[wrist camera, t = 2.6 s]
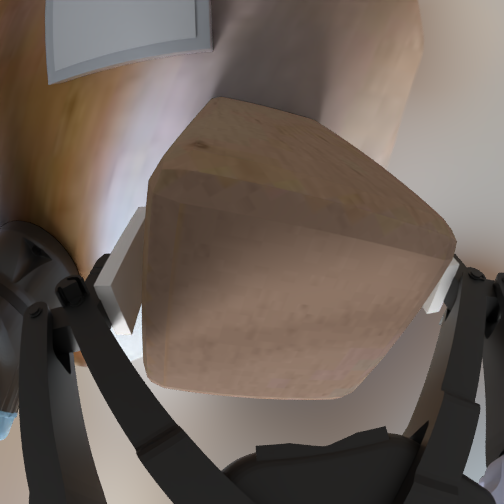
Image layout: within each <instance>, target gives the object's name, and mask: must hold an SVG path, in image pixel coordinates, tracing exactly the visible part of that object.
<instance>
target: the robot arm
mask: <svg viewBox="0 0 504 504" xmlns="http://www.w3.org/2000/svg"><path fill="white" fill-rule="evenodd" d="M145 214H146V207H138V209H137V211H136V212H135V214H134V215H133V217H132V219H131V220H130V222H129V224H128V225H127V227H126V228H125V230H124V232H123V234H122V235H121V237H120V239H119V240H118V242H117V244H116V245H115V247H114V249H113V251H112V252H111V254H104V255H103V256H101V257H100V258H99V259H98V260H97V261H96V263H95V265H94V267H93V269H92V270H91V272H90V274H89V275H88V277H87V279H86V281H84V279H83V278H82V277H81V276H80V275H79V274H78V271H77V269H76V266H75V264H74V262H73V261H72V259H71V257H70V256H69V254H68V253H67V251H66V250H65V249H64V248H63V246H62V245H61V244H60V243H59V242H58V241H57V240H56V239H55V238H54V237H53V236H51V235H50V234H49V233H48V232H46V231H45V230H43V229H42V228H40V227H38V226H36V225H34V224H31V223H28V222H24V221H12V222H8V223H6V224H4V225H3V226H2V227H1V228H0V440H3V439H5V438H6V437H7V435H8V433H9V431H10V428H11V425H12V423H13V420H14V418H16V417H17V412H18V409H19V414H20V415H19V416H20V431H21V441H22V450H23V457H24V464H25V471H26V477H27V482H28V487H29V492H30V494H29V504H107V502H106V499H105V496H104V492H103V489H102V486H101V483H100V480H99V477H98V474H97V470H96V467H95V464H94V460H93V457H92V453H91V450H90V445H89V441H88V437H87V433H86V429H85V425H84V420H83V415H82V409H81V404H80V398H79V393H78V386H77V379H76V372H75V364H74V355H73V352H76V351H81V353H82V355H83V357H84V359H85V361H86V364H87V366H88V368H89V370H90V372H91V374H92V376H93V378H94V380H95V382H96V383H97V386H98V387H99V389H100V391H101V393H102V395H103V397H104V399H105V400H106V402H107V404H108V406H109V407H110V409H111V411H112V413H113V414H114V416H115V418H116V419H117V421H118V423H119V424H120V426H121V428H122V429H123V431H124V432H125V434H126V435H127V437H128V438H129V440H130V442H131V443H132V445H133V446H134V448H135V449H136V454H137V456H138V458H139V459H140V461H141V462H142V464H143V465H144V466H145V468H146V469H147V470H148V472H149V473H150V475H151V476H152V477H153V479H154V480H155V481H156V483H158V485H159V486H160V488H161V489H162V490H163V491H164V492H165V494H166V495H167V496H168V497H169V499H170V500H171V501H172V502H173V503H174V504H504V273H498V275H497V277H496V279H495V281H493V280H487V279H486V277H485V276H484V274H483V273H482V272H480V271H479V270H477V269H475V268H471V267H468V268H467V267H466V266H465V265H464V264H463V263H462V261H461V260H460V259H459V258H458V257H457V256H456V254H454V256H453V259H452V261H451V263H450V264H449V266H448V268H447V269H446V271H445V273H444V274H443V276H442V277H441V279H440V281H439V282H438V284H437V285H436V287H435V288H434V290H433V291H432V293H431V294H430V296H429V297H428V299H427V300H426V302H425V303H424V305H423V306H422V307H423V308H424V310H425V312H426V313H427V314H428V313H434V312H439V310H440V308H441V306H442V304H443V302H444V303H445V304H446V306H447V309H446V311H445V313H444V315H443V317H442V319H441V321H440V323H439V325H441V324H442V325H441V329H440V333H439V338H438V341H437V345H436V348H435V352H434V356H433V359H432V362H431V365H430V368H429V371H428V374H427V377H426V380H425V383H424V387H423V389H422V392H421V395H420V397H419V400H418V403H417V405H416V408H415V410H414V413H413V415H412V418H411V420H410V422H409V425H408V427H407V429H406V430H405V432H404V433H403V435H398V434H391V433H387V430H386V427H385V426H384V427H380V428H376V429H372V430H367V431H363V432H358V433H355V434H353V435H351V436H349V437H347V438H344V439H342V440H340V441H338V442H335V443H333V444H331V445H328V446H311V445H301V444H291V443H287V444H276V445H263V446H256V453H252V454H249V455H246V456H244V457H242V458H239V459H237V460H236V461H234V462H232V463H231V464H229V465H228V466H227V467H225V468H224V469H223V470H222V471H220V470H219V469H218V468H217V467H216V466H215V465H214V463H213V462H212V461H211V460H210V459H209V458H208V457H207V456H206V455H205V454H204V453H203V452H202V451H201V450H200V448H199V447H198V446H197V445H196V444H195V443H194V442H193V441H192V440H191V439H190V437H189V436H188V435H187V434H186V433H185V432H184V430H183V429H182V428H181V427H180V426H178V425H177V424H176V423H175V421H174V420H173V419H172V418H171V416H170V415H169V414H168V413H167V411H166V410H165V409H164V408H163V406H162V405H161V404H160V402H159V401H158V400H157V399H156V397H155V396H154V395H153V393H152V392H151V390H150V389H149V388H148V387H147V385H146V384H145V382H144V381H143V379H142V378H141V377H140V375H139V374H138V372H137V371H136V369H135V368H134V366H133V365H132V363H131V362H130V360H129V359H128V357H127V356H126V354H125V353H124V351H123V350H122V348H121V346H120V345H119V343H118V342H117V340H116V338H115V337H114V335H113V334H112V332H111V330H110V329H111V326H112V328H113V330H114V332H115V334H116V335H132V333H133V329H134V326H135V323H136V319H137V316H138V313H139V310H140V307H141V303H142V267H143V244H144V227H145ZM482 358H483V368H484V380H485V396H486V467H487V469H486V472H485V475H484V476H482V477H481V479H480V480H479V484H478V483H476V482H474V481H473V480H471V479H470V478H468V477H467V476H465V475H464V474H463V471H464V468H465V465H466V462H467V459H468V456H469V453H470V449H471V446H472V443H473V439H474V435H475V431H476V427H477V423H478V419H479V414H480V405H479V404H477V403H475V398H476V392H477V387H478V382H479V376H480V369H481V362H482Z"/></svg>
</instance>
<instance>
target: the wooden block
mask: <svg viewBox="0 0 504 504" xmlns="http://www.w3.org/2000/svg"><path fill="white" fill-rule="evenodd" d="M456 243H457V241H456V239H455V236H454V234H453V232H452V230H451V228H450V227H449V226H448V224H447V223H446V221H445V220H444V219H443V218H442V217H441V216H440V215H439V214H438V213H437V212H436V211H434V210H433V209H432V208H431V207H430V206H429V205H428V204H427V203H426V202H424V201H423V200H422V199H421V198H420V197H419V196H418V195H416V194H415V193H414V192H413V191H412V190H410V189H409V188H408V187H407V186H406V185H404V184H403V183H402V182H401V181H399V180H398V179H397V178H396V177H394V176H393V175H392V174H391V173H389V172H388V171H387V170H385V169H384V168H383V167H382V166H380V165H379V164H378V163H376V162H375V161H374V160H372V159H371V158H370V157H368V156H367V155H365V154H364V153H363V152H361V151H360V150H358V149H357V148H356V147H354V146H353V145H351V144H350V143H349V142H347V141H346V140H344V139H343V138H341V137H340V136H338V135H337V134H335V133H334V132H332V131H331V130H329V129H328V128H326V127H324V126H323V125H321V124H320V123H318V122H317V121H315V120H313V119H309V118H306V117H303V116H299V115H296V114H292V113H289V112H285V111H281V110H278V109H274V108H270V107H266V106H262V105H257V104H253V103H249V102H244V101H240V100H235V99H230V98H225V97H217V98H212V99H211V100H210V101H209V102H208V103H207V104H206V106H205V107H204V108H203V109H202V110H201V111H200V112H199V113H198V115H197V116H196V117H195V118H194V119H193V120H192V122H191V123H190V124H189V125H188V126H187V127H186V129H185V130H184V131H183V132H182V133H181V135H180V136H179V137H178V138H177V139H176V141H175V142H174V143H173V144H172V146H171V147H170V148H169V149H168V151H167V152H166V153H165V154H164V156H163V157H162V159H161V160H160V162H159V164H158V165H157V167H156V169H155V170H154V172H153V174H152V176H151V177H150V179H149V182H148V192H147V202H146V214H145V227H144V244H143V267H142V341H143V362H144V366H145V370H146V373H147V377H148V378H149V379H150V380H151V382H153V383H155V384H157V385H159V386H161V387H163V388H168V389H174V390H181V391H188V392H195V393H203V394H213V395H222V396H233V397H245V398H263V399H292V400H293V399H294V400H296V399H298V400H315V399H316V400H319V399H336V398H340V397H343V396H345V395H347V394H349V393H351V392H353V391H354V390H355V388H356V387H358V385H359V384H360V383H361V382H362V381H363V380H364V379H365V378H366V377H367V375H368V374H369V373H370V372H371V371H372V370H373V369H374V367H375V366H376V365H377V364H378V363H379V362H380V360H381V359H382V358H383V357H384V356H385V355H386V353H387V352H388V351H389V350H390V348H391V347H392V346H393V345H394V343H395V342H396V341H397V340H398V338H399V337H400V335H401V334H402V333H403V332H404V331H405V329H406V328H407V327H408V325H409V324H410V323H411V321H412V320H413V318H414V317H415V316H416V314H417V313H418V311H419V310H420V309H421V307H422V306H423V305H424V303H425V302H426V300H427V299H428V297H429V296H430V294H431V293H432V291H433V290H434V288H435V287H436V285H437V284H438V282H439V281H440V279H441V277H442V276H443V274H444V273H445V271H446V269H447V268H448V266H449V264H450V263H451V261H452V259H453V256H454V252H455V248H456Z"/></svg>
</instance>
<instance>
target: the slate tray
mask: <svg viewBox="0 0 504 504" xmlns="http://www.w3.org/2000/svg"><path fill="white" fill-rule="evenodd" d="M45 41H46V61H47V74H48V84H49V85H51V84H57V83H62V82H67V81H70V80H73V79H76V78H79V77H82V76H86V75H89V74H92V73H96V72H99V71H103V70H107V69H111V68H115V67H119V66H123V65H128V64H132V63H137V62H142V61H147V60H152V59H158V58H164V57H170V56H177V55H185V54H193V53H202V52H213V38H212V12H211V0H46V6H45Z"/></svg>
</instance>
